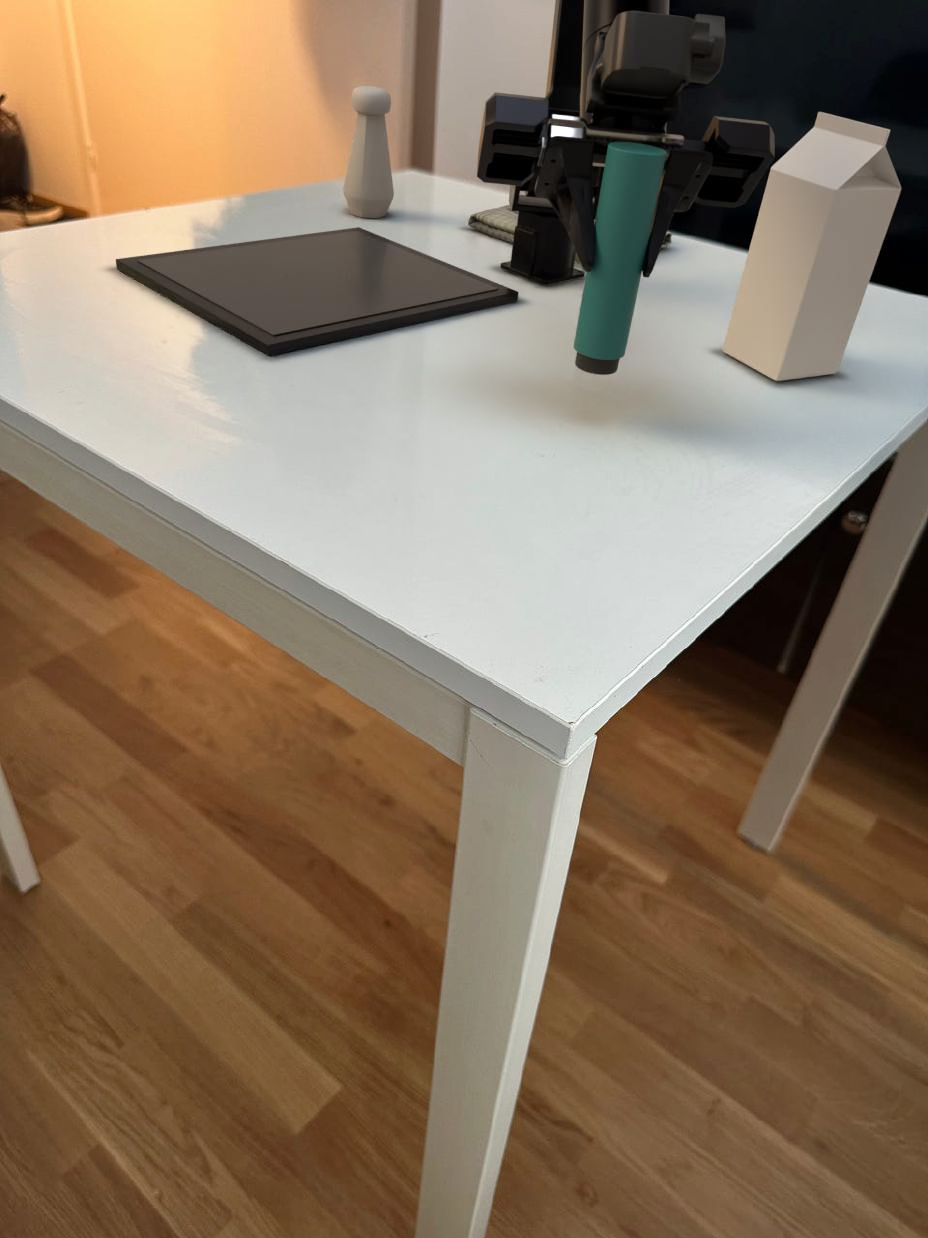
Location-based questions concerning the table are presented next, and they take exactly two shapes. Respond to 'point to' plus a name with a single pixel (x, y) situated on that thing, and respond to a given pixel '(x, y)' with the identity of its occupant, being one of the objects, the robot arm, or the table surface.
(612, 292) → the marker
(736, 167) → the robot arm
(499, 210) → the dish towel
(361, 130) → the salt shaker
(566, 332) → the table surface
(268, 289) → the tablet
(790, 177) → the milk carton
